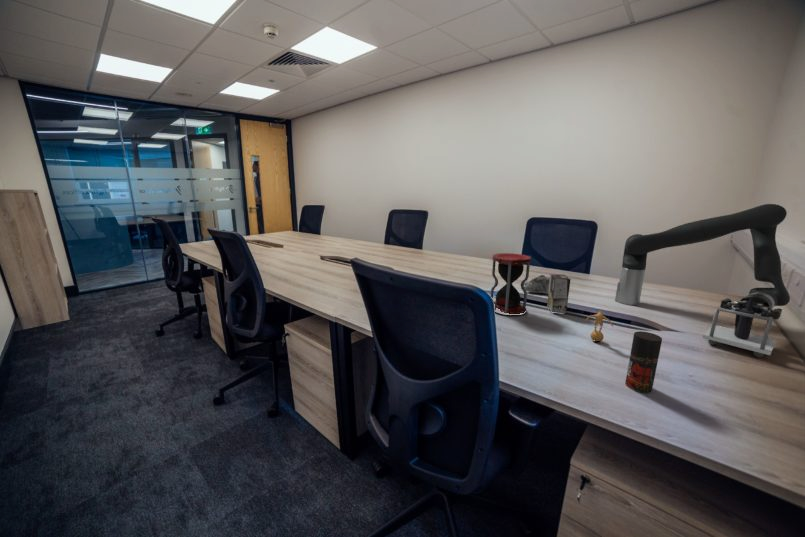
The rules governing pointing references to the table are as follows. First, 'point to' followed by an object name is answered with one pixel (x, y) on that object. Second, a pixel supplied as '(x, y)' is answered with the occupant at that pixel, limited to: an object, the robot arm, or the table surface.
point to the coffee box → (558, 293)
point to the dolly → (727, 336)
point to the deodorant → (643, 361)
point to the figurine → (596, 334)
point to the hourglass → (510, 282)
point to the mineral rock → (538, 285)
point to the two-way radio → (744, 321)
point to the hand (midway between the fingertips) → (744, 312)
